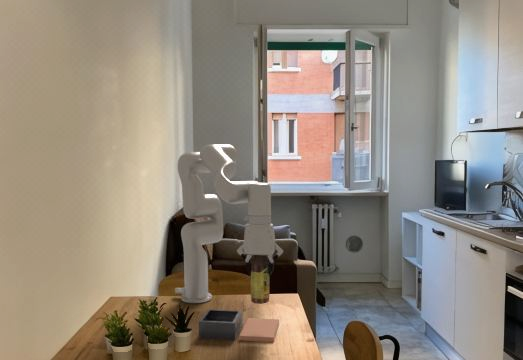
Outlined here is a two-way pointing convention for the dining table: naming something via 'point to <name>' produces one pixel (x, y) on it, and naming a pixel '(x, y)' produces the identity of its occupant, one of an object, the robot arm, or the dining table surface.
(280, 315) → the dining table surface
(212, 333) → the bottle holder
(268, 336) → the plate
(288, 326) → the dining table surface
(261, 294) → the sauce bottle
